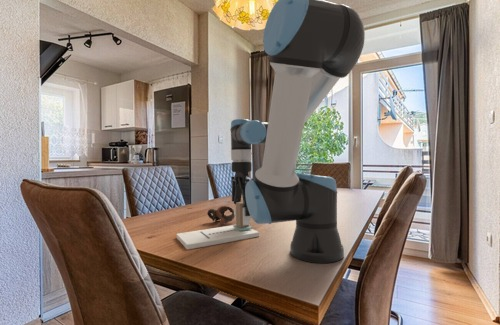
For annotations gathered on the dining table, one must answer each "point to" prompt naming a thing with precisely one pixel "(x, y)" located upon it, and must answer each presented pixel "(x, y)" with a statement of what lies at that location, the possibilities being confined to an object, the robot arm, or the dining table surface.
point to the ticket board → (214, 236)
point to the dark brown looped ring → (221, 214)
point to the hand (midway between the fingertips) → (242, 222)
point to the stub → (240, 217)
